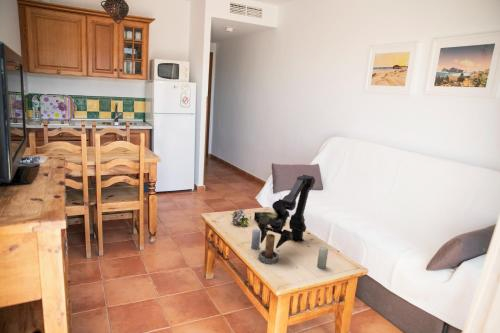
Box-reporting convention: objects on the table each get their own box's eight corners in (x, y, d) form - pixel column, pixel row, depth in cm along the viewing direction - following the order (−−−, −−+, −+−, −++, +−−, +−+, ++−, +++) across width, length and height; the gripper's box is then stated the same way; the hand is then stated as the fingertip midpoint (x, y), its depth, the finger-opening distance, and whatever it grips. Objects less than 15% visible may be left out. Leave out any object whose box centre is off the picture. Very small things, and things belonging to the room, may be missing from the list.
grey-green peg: (322, 264, 179) (324, 246, 177) (327, 268, 176) (329, 250, 173) (315, 265, 178) (317, 247, 176) (320, 269, 174) (322, 251, 172)
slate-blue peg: (257, 245, 196) (258, 229, 194) (260, 249, 192) (261, 232, 190) (250, 246, 194) (251, 229, 192) (253, 249, 190) (254, 232, 188)
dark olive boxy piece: (281, 219, 241) (282, 210, 239) (286, 224, 231) (287, 215, 230) (253, 220, 235) (254, 211, 234) (257, 225, 226) (258, 217, 225)
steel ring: (272, 253, 188) (273, 249, 187) (282, 262, 178) (282, 257, 178) (255, 255, 183) (255, 251, 183) (263, 265, 174) (264, 260, 174)
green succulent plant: (234, 231, 226) (228, 214, 229) (248, 227, 230) (242, 210, 233) (238, 228, 216) (232, 210, 219) (254, 223, 221) (248, 205, 224)
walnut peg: (272, 257, 183) (274, 234, 180) (273, 261, 179) (275, 237, 176) (264, 256, 183) (266, 233, 180) (264, 260, 179) (266, 237, 176)
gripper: (261, 207, 184) (248, 233, 177) (292, 216, 174) (280, 244, 167) (267, 217, 192) (255, 242, 185) (297, 226, 182) (286, 253, 175)
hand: (268, 245), depth 178 cm, fingers open, 9 cm apart
